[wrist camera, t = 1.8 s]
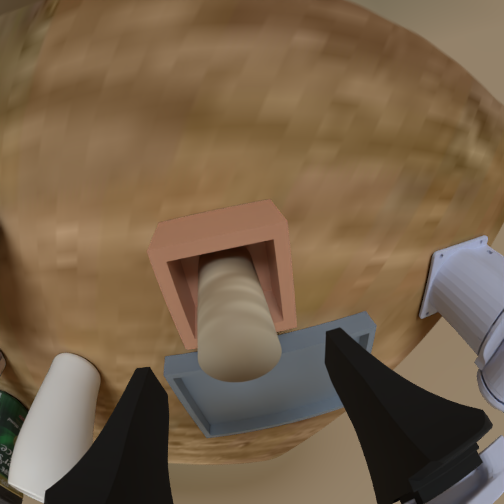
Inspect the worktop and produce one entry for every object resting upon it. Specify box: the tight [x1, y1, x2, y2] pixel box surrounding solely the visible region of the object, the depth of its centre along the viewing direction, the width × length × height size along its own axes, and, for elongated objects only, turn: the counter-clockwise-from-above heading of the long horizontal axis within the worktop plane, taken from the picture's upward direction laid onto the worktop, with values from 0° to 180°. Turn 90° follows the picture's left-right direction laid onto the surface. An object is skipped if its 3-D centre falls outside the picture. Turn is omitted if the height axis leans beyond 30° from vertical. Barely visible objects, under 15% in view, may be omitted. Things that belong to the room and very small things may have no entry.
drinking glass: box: [8, 353, 101, 503], centre depth 15 cm, size 7×7×15 cm
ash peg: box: [197, 245, 282, 382], centre depth 14 cm, size 4×4×8 cm
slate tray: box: [164, 311, 376, 438], centre depth 24 cm, size 18×13×2 cm
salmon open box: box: [147, 199, 297, 350], centre depth 17 cm, size 7×7×4 cm
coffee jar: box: [0, 390, 28, 504], centre depth 16 cm, size 10×8×19 cm
